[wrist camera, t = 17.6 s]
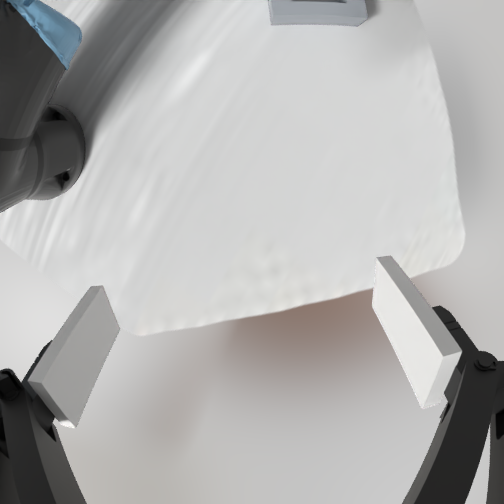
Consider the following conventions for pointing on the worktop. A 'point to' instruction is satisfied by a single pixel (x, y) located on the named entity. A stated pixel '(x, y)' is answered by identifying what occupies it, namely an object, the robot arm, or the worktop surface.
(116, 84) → the worktop surface
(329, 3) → the divided tray
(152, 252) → the worktop surface
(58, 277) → the worktop surface
